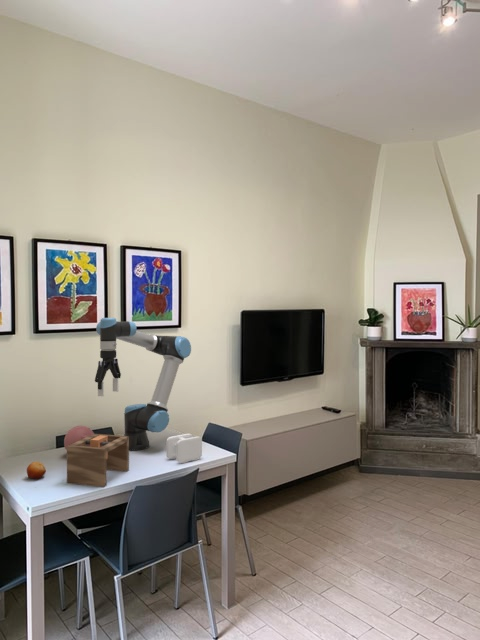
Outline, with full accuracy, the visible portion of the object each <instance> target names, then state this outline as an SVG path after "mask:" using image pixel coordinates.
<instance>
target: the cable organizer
mask: <svg viewBox="0 0 480 640" xmlns="http://www.w3.org/2000/svg"><path fill="white" fill-rule="evenodd" d="M165 445H166V449H165V450H166V458H167V459H169V460H176V462H178V463H180V464H186V463H188V462H195V461H198V460H199V459H201V458H202V456H203V438H202V437H200V436H198V435H197V436H193V435H192V433H184V434H178V435H173V436H169V437H167V438H166V444H165Z"/></svg>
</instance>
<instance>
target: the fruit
mask: <svg viewBox="0 0 480 640" xmlns="http://www.w3.org/2000/svg"><path fill="white" fill-rule="evenodd" d="M46 471H47V470H46V467H45V465H44V464H43V463H42V462H40V461H32V462H30V463H29V464H28V466H27V468H26V474H27V480H28V479H32V480H40V479H41V478H43V476H45V474H46Z"/></svg>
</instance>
